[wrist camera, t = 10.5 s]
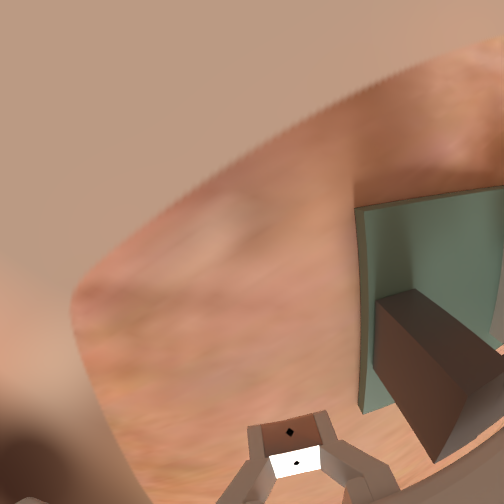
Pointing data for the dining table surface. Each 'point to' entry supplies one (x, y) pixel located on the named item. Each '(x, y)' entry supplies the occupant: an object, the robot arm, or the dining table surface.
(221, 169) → the dining table surface
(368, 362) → the base
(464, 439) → the dark grey angled block
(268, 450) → the robot arm
